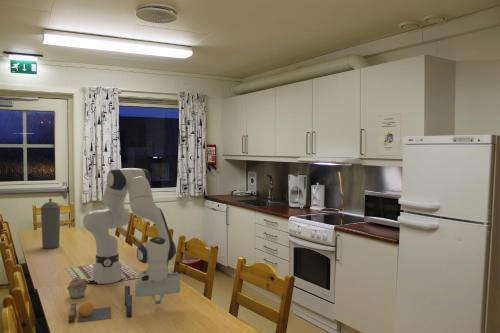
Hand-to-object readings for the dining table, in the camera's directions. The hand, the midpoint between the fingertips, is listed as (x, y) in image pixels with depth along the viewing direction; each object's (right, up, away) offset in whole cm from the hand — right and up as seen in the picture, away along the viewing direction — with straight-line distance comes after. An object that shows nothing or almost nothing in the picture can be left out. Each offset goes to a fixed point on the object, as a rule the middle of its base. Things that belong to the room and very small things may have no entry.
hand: (157, 303), depth 191 cm
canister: (-101, +4, +111) cm, 150 cm away
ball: (-29, +1, -11) cm, 31 cm away
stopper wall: (-34, -2, -11) cm, 36 cm away
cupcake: (-42, -1, +13) cm, 44 cm away
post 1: (-14, -1, +2) cm, 15 cm away
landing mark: (-25, -2, -9) cm, 27 cm away
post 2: (-10, -2, -10) cm, 15 cm away
